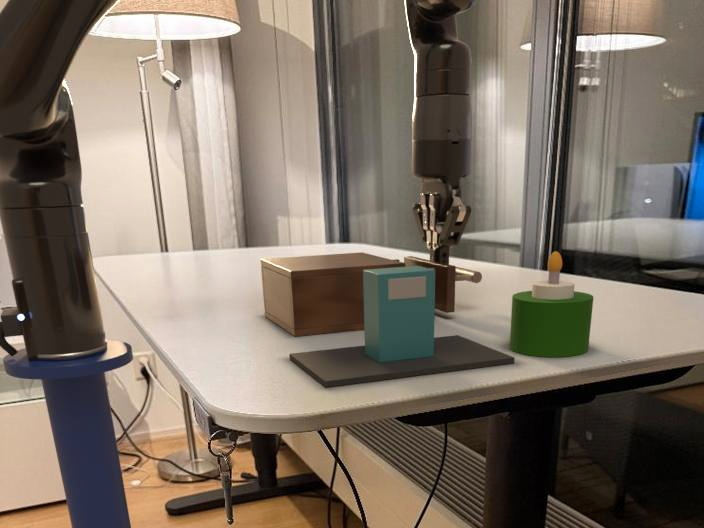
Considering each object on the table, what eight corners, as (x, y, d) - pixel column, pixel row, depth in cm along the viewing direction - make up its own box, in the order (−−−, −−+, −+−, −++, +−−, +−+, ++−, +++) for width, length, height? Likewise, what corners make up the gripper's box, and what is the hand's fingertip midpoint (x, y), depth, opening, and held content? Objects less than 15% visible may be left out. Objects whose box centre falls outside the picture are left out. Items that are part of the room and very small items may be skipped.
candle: (605, 350, 76) (616, 252, 72) (541, 360, 73) (548, 258, 69) (554, 336, 83) (562, 245, 79) (494, 344, 80) (499, 250, 76)
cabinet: (363, 307, 104) (362, 252, 101) (405, 325, 91) (405, 262, 88) (264, 316, 99) (260, 259, 96) (294, 336, 87) (290, 271, 84)
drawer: (446, 294, 107) (447, 253, 105) (493, 308, 96) (495, 263, 93) (323, 305, 101) (321, 262, 99) (357, 321, 90) (356, 273, 87)
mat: (325, 387, 66) (325, 381, 66) (289, 359, 76) (289, 353, 76) (514, 363, 72) (514, 357, 72) (457, 340, 83) (457, 334, 83)
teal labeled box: (379, 363, 71) (378, 274, 68) (364, 354, 75) (362, 269, 72) (434, 356, 73) (435, 270, 70) (417, 348, 77) (417, 265, 73)
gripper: (393, 139, 96) (394, 274, 103) (438, 135, 85) (436, 286, 92) (443, 139, 99) (441, 270, 106) (494, 134, 87) (487, 281, 94)
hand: (439, 277), depth 99 cm, fingers closed
